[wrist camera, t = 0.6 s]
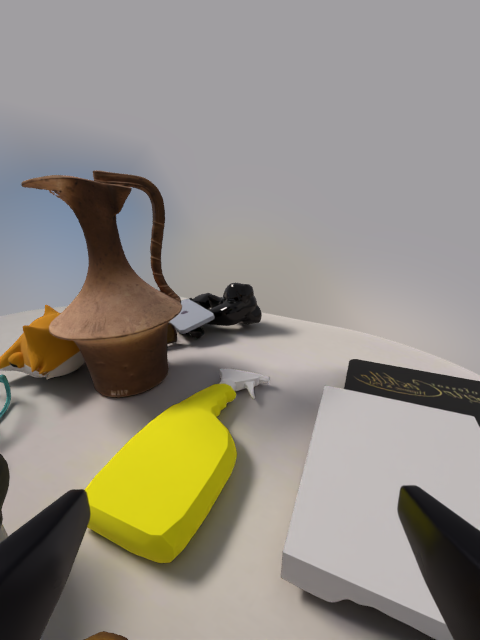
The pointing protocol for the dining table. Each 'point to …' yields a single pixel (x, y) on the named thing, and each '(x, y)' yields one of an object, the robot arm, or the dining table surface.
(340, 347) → the dining table surface
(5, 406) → the green eyeglasses
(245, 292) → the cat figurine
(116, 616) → the dining table surface
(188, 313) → the smartphone
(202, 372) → the dining table surface
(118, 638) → the fruit
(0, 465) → the light bulb
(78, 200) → the pitcher
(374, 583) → the food packaging
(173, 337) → the figurine
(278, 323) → the dining table surface
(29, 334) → the toy
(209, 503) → the spray bottle
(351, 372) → the nameplate
